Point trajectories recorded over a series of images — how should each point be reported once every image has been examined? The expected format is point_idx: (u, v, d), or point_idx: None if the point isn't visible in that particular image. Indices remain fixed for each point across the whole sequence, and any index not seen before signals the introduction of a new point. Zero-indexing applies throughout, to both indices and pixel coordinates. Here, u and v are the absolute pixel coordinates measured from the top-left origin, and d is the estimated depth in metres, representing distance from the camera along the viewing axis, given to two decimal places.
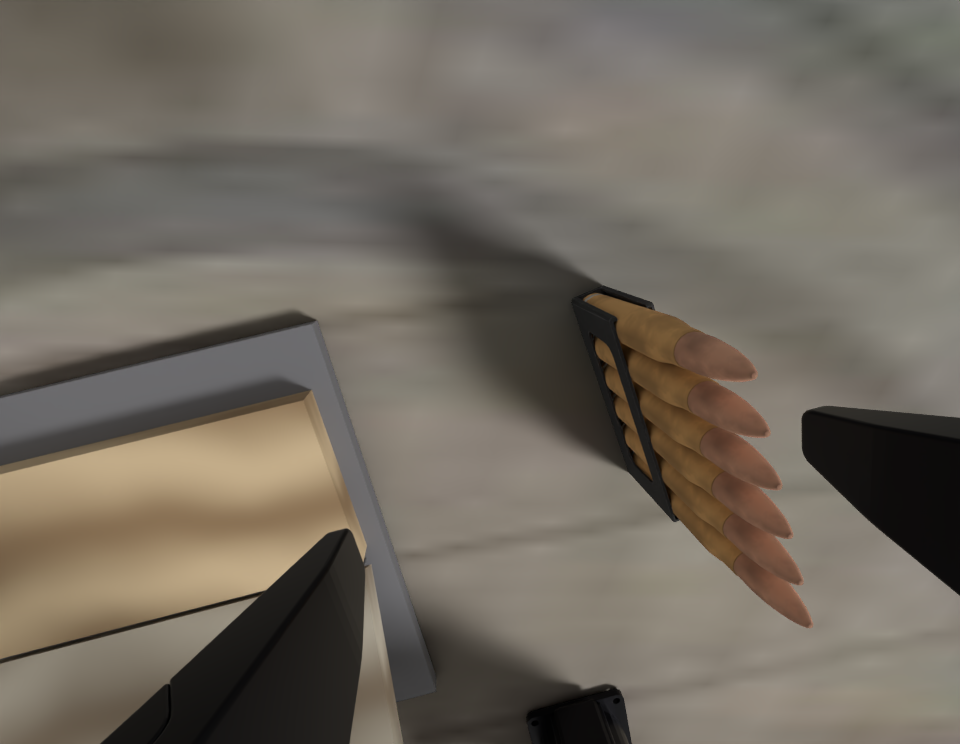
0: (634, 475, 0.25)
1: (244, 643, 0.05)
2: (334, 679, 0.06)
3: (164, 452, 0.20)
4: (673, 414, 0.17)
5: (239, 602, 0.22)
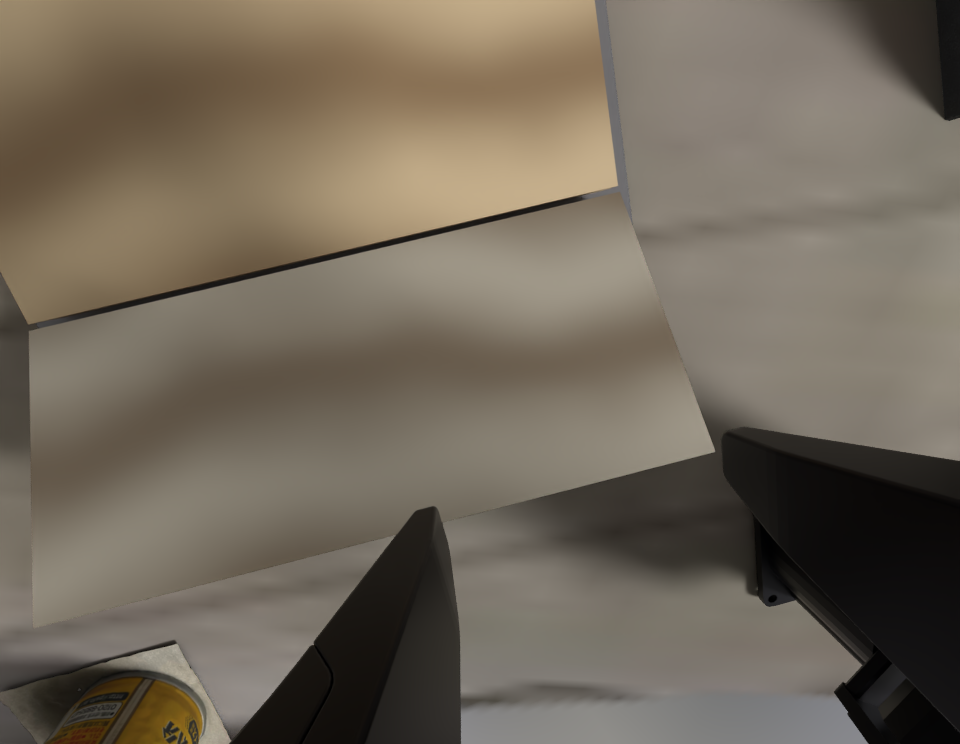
0: None
1: (379, 608, 0.05)
2: (446, 649, 0.06)
3: None
4: None
5: (440, 235, 0.15)
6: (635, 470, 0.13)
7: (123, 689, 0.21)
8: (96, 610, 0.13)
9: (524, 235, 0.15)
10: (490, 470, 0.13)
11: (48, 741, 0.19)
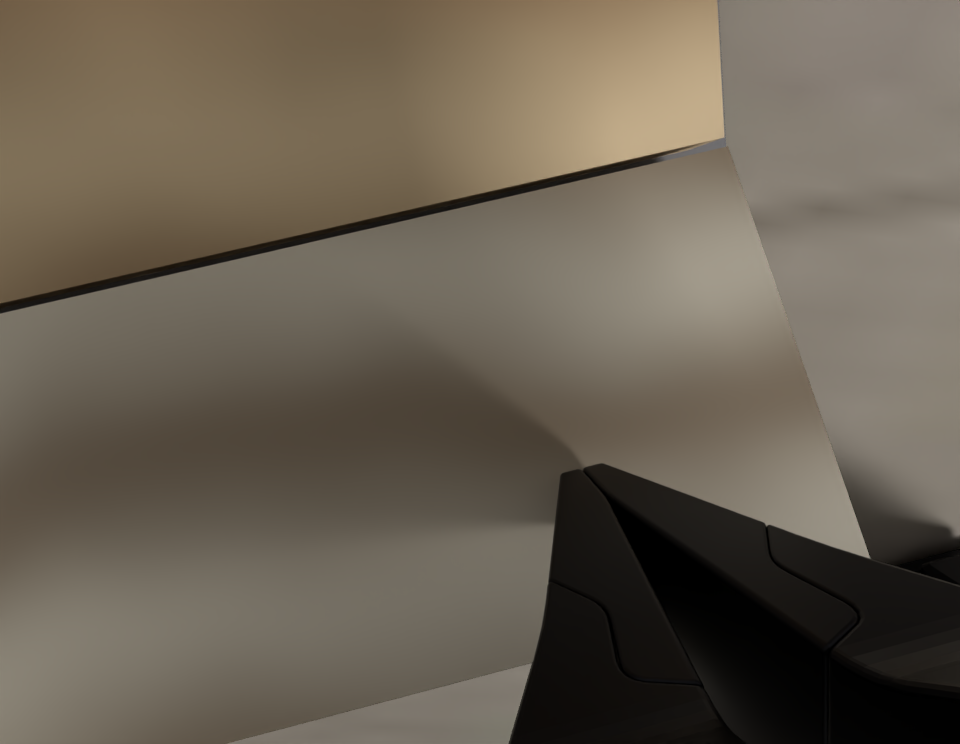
0: None
1: (600, 549, 0.06)
2: None
3: None
4: None
5: (444, 213, 0.10)
6: None
7: None
8: None
9: (577, 216, 0.10)
10: (525, 600, 0.09)
11: None
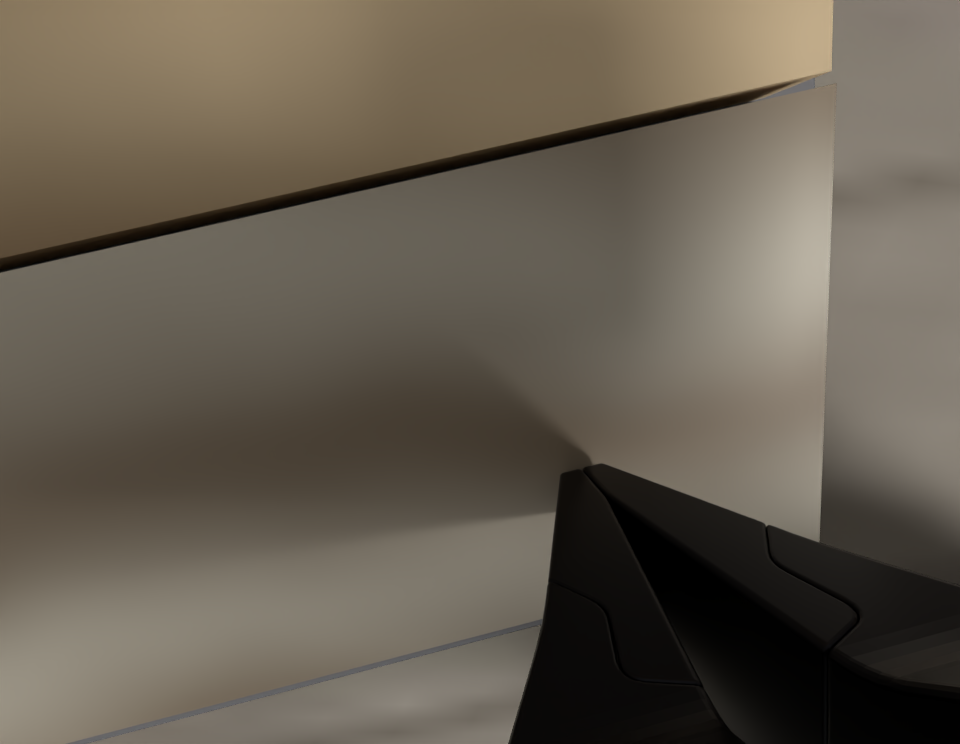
0: None
1: (599, 549, 0.06)
2: None
3: None
4: None
5: (442, 174, 0.07)
6: None
7: None
8: None
9: (620, 186, 0.07)
10: (520, 583, 0.09)
11: None
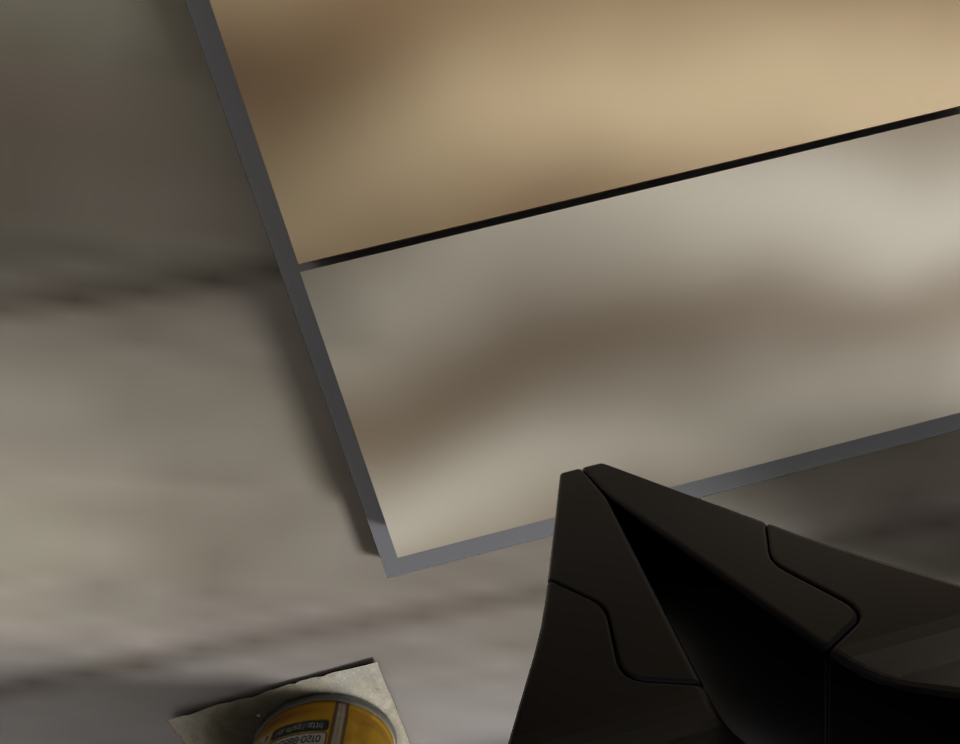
0: None
1: (599, 549, 0.06)
2: None
3: None
4: None
5: (811, 150, 0.12)
6: (927, 420, 0.15)
7: (320, 715, 0.17)
8: (451, 542, 0.14)
9: (907, 156, 0.12)
10: (805, 422, 0.14)
11: None
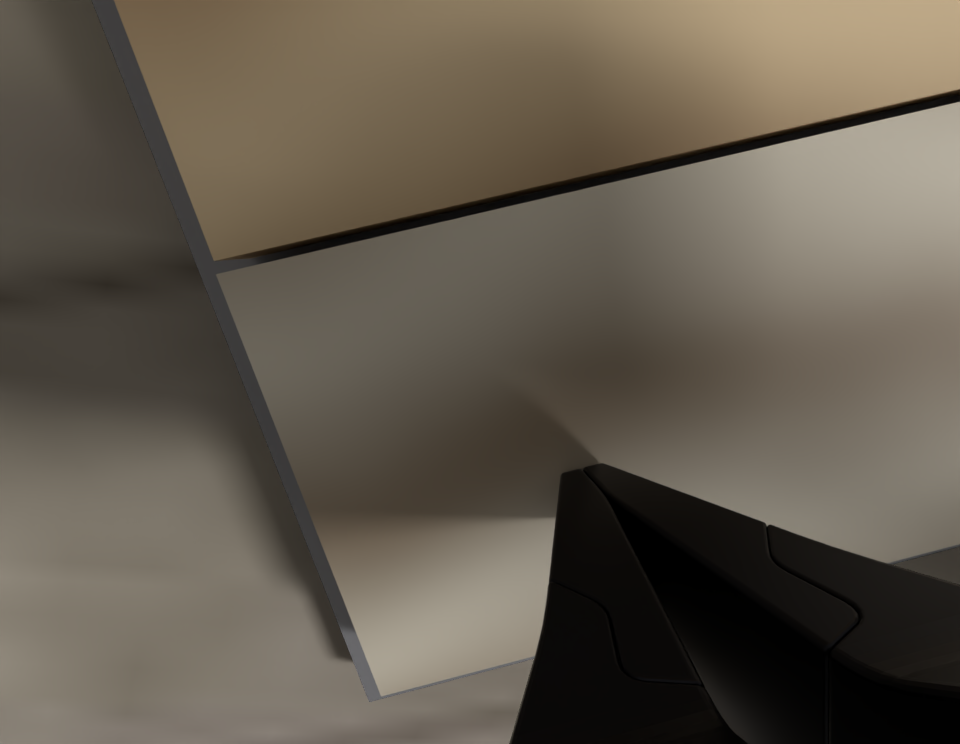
0: None
1: (600, 550, 0.06)
2: None
3: None
4: None
5: None
6: None
7: None
8: (460, 672, 0.10)
9: None
10: None
11: None
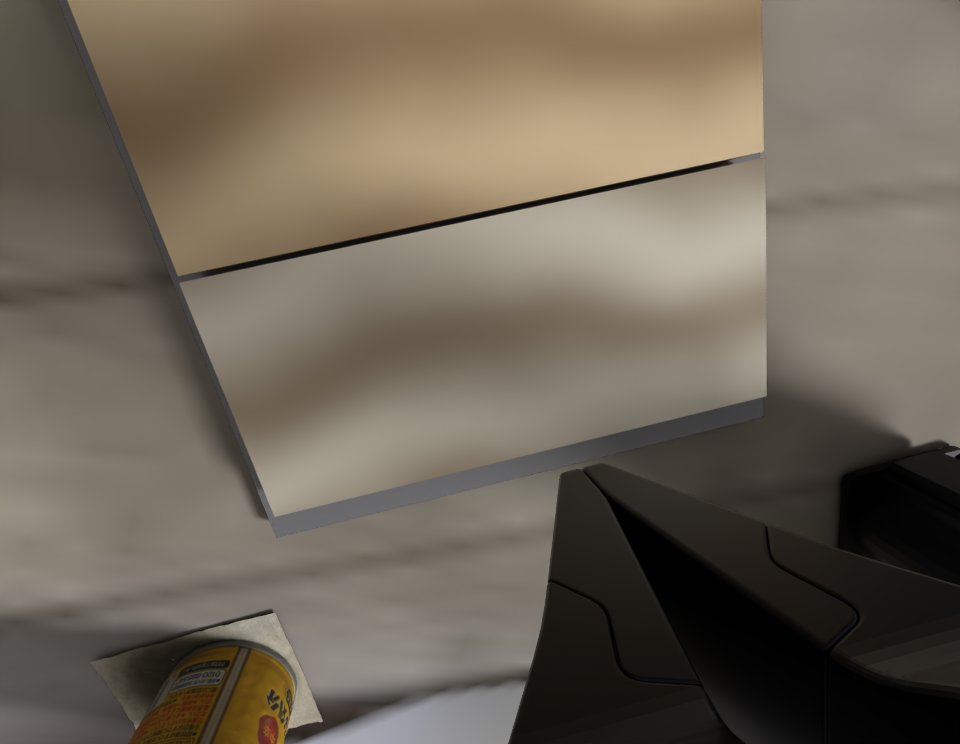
0: None
1: (599, 550, 0.06)
2: None
3: None
4: None
5: (590, 195, 0.15)
6: (710, 409, 0.18)
7: (223, 657, 0.20)
8: (319, 504, 0.17)
9: (668, 201, 0.16)
10: (608, 409, 0.18)
11: (156, 707, 0.19)
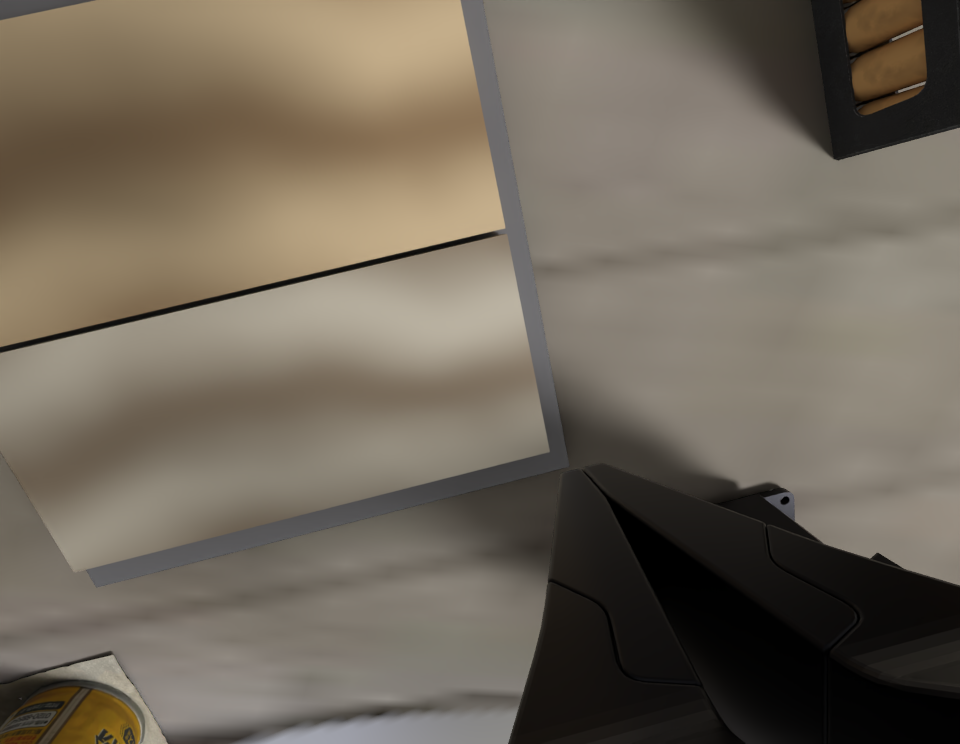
0: (853, 145, 0.18)
1: (599, 550, 0.06)
2: None
3: (244, 2, 0.14)
4: None
5: (337, 274, 0.16)
6: (493, 465, 0.19)
7: (59, 698, 0.22)
8: (117, 560, 0.18)
9: (416, 277, 0.16)
10: (390, 467, 0.18)
11: None
